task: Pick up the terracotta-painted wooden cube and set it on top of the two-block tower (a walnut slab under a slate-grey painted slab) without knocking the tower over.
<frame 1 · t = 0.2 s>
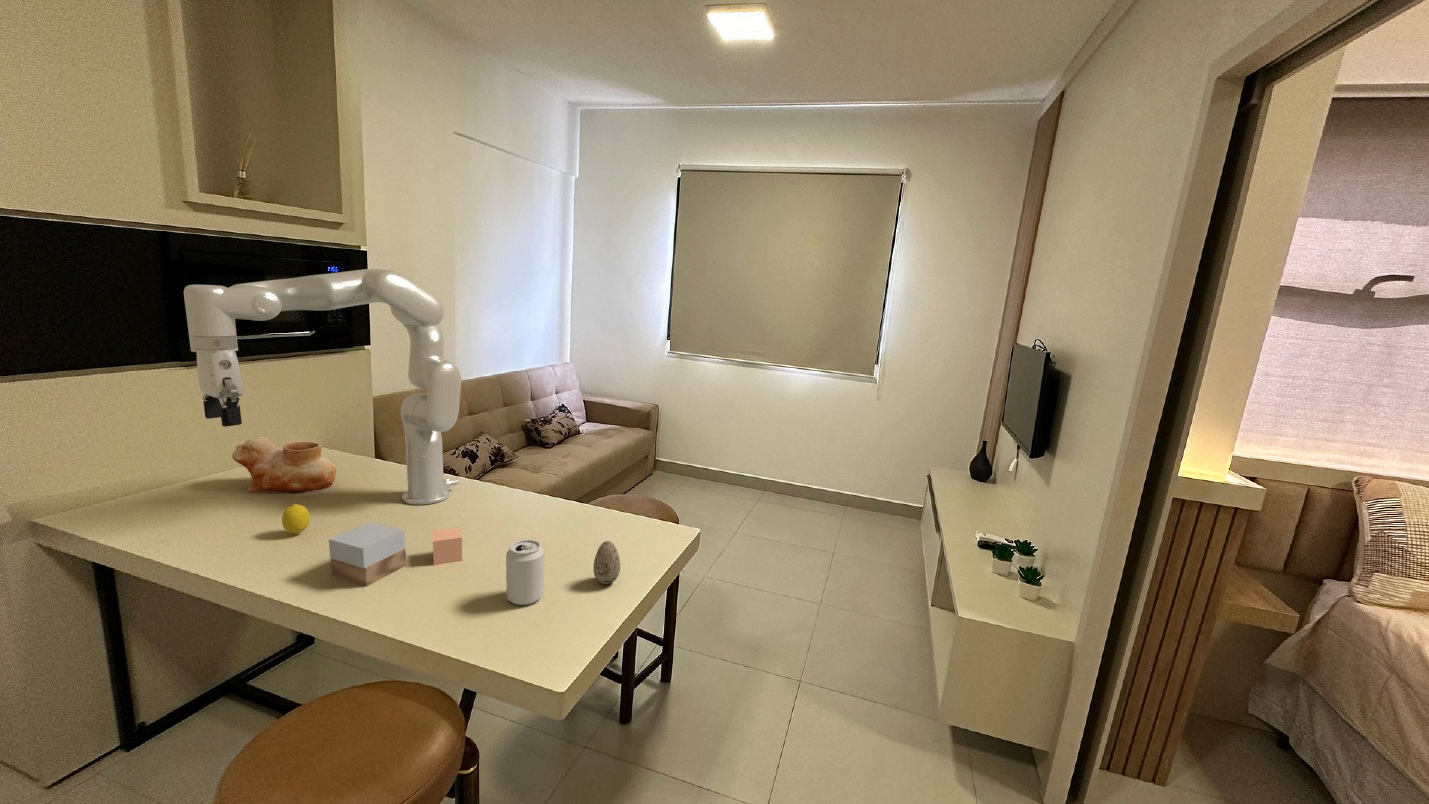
hand: (223, 421, 120), 31 cm above the table, fingers open, 9 cm apart
decorative egg: (606, 583, 124), on the table
block: (447, 557, 130), on the table
can: (525, 598, 116), on the table
lemon: (297, 535, 136), on the table
tower top: (368, 553, 121), point 4 cm above the table
ceramic vessel: (287, 486, 166), on the table
tower base: (370, 572, 122), on the table
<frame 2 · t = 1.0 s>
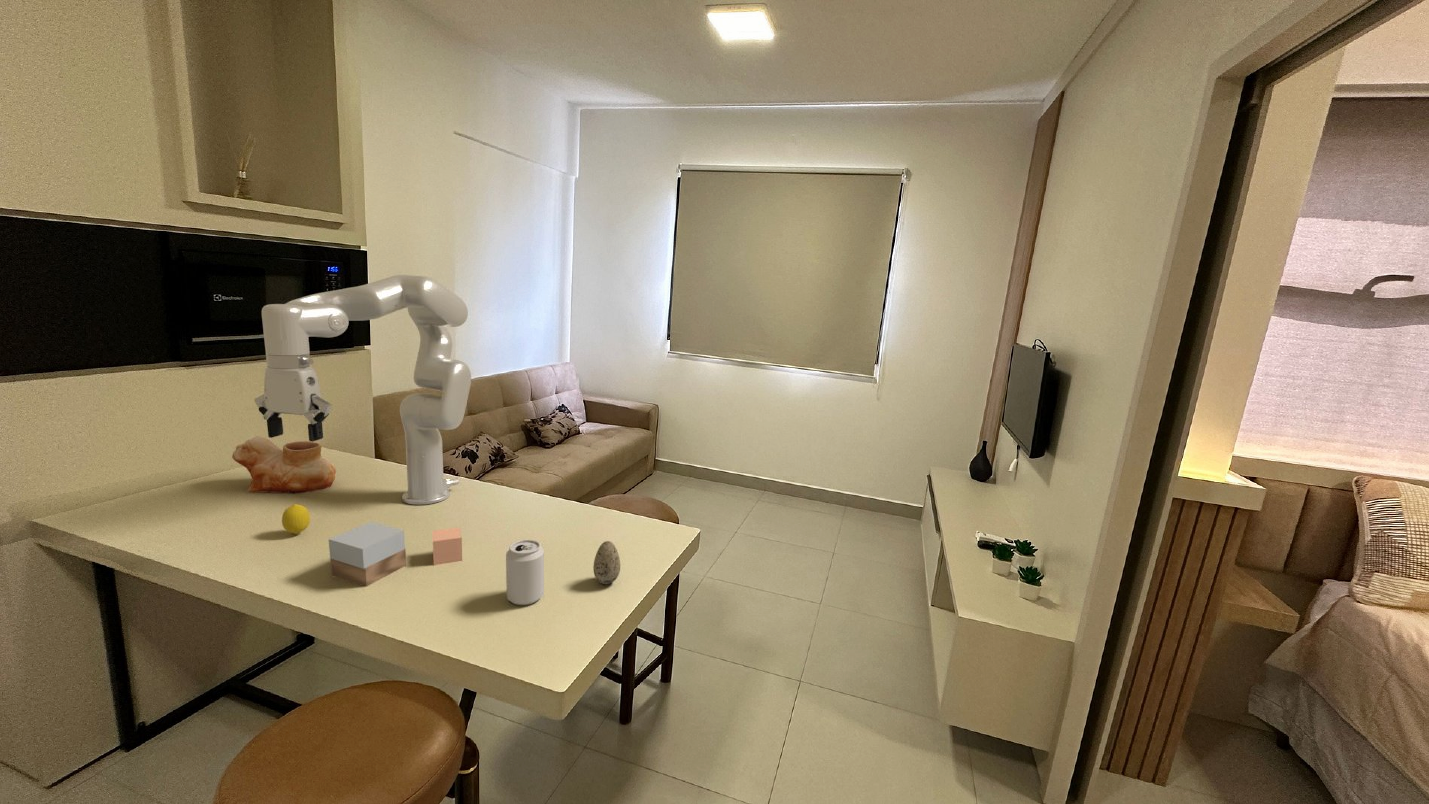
hand: (296, 438, 122), 28 cm above the table, fingers open, 9 cm apart
tower top: (368, 553, 121), point 4 cm above the table, touching tower base
tower base: (370, 572, 122), on the table, touching tower top
everything else where it was.
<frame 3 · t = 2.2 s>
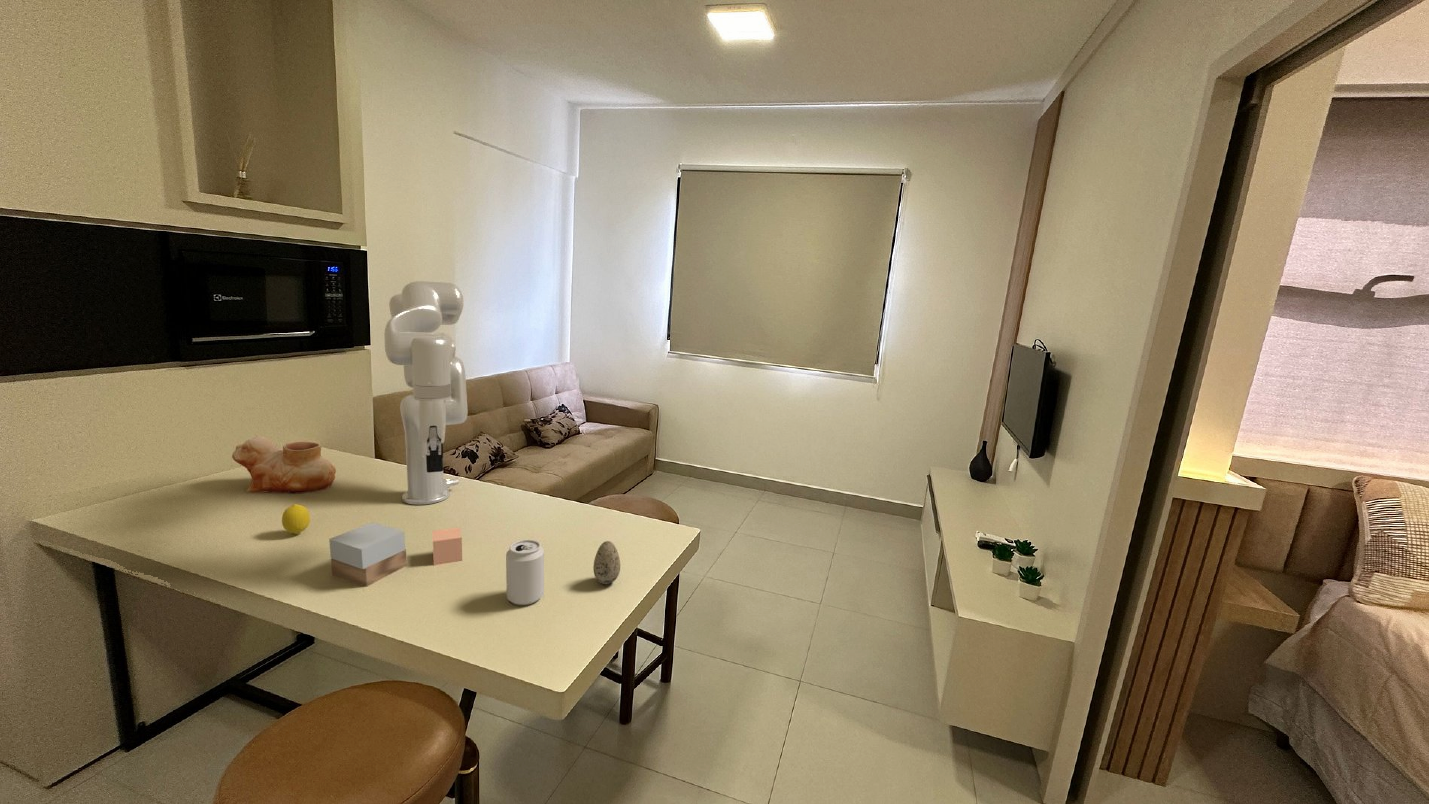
hand: (435, 465, 125), 23 cm above the table, fingers open, 9 cm apart
nothing on the table moved.
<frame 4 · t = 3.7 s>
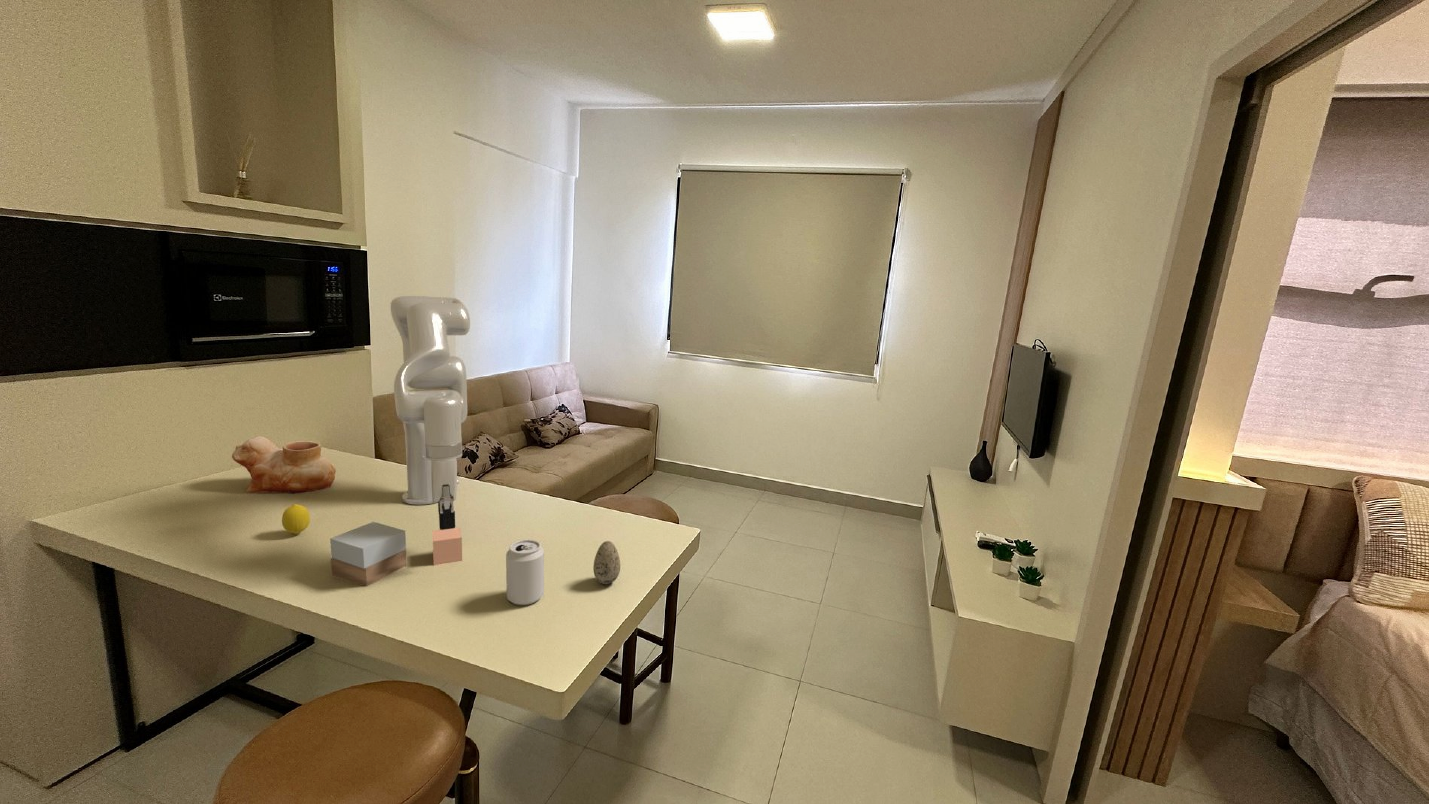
hand: (446, 520, 128), 9 cm above the table, fingers open, 9 cm apart
nothing on the table moved.
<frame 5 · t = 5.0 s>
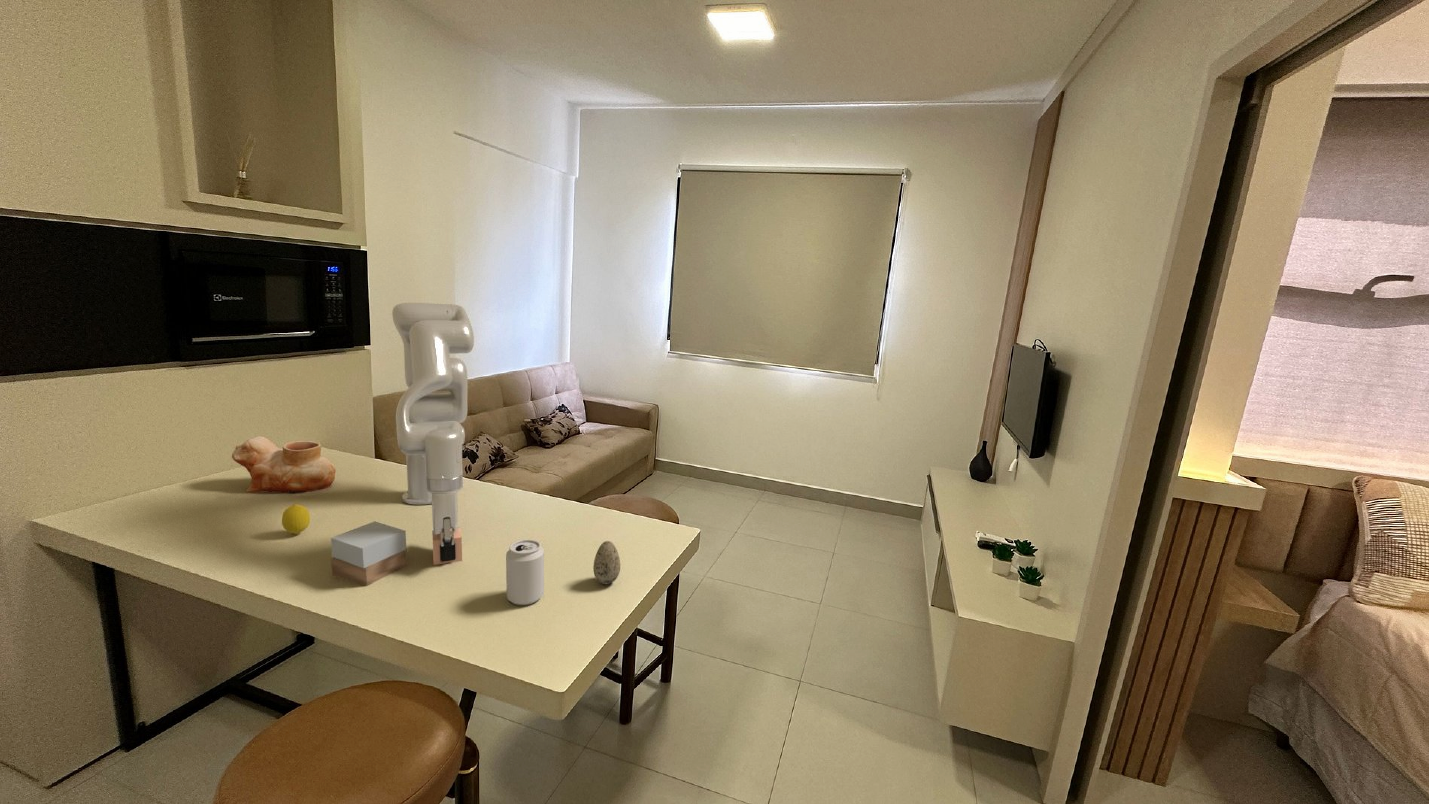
hand: (447, 553, 130), 1 cm above the table, fingers closed on block, 6 cm apart
block: (447, 557, 130), on the table, touching gripper
everything else where it was.
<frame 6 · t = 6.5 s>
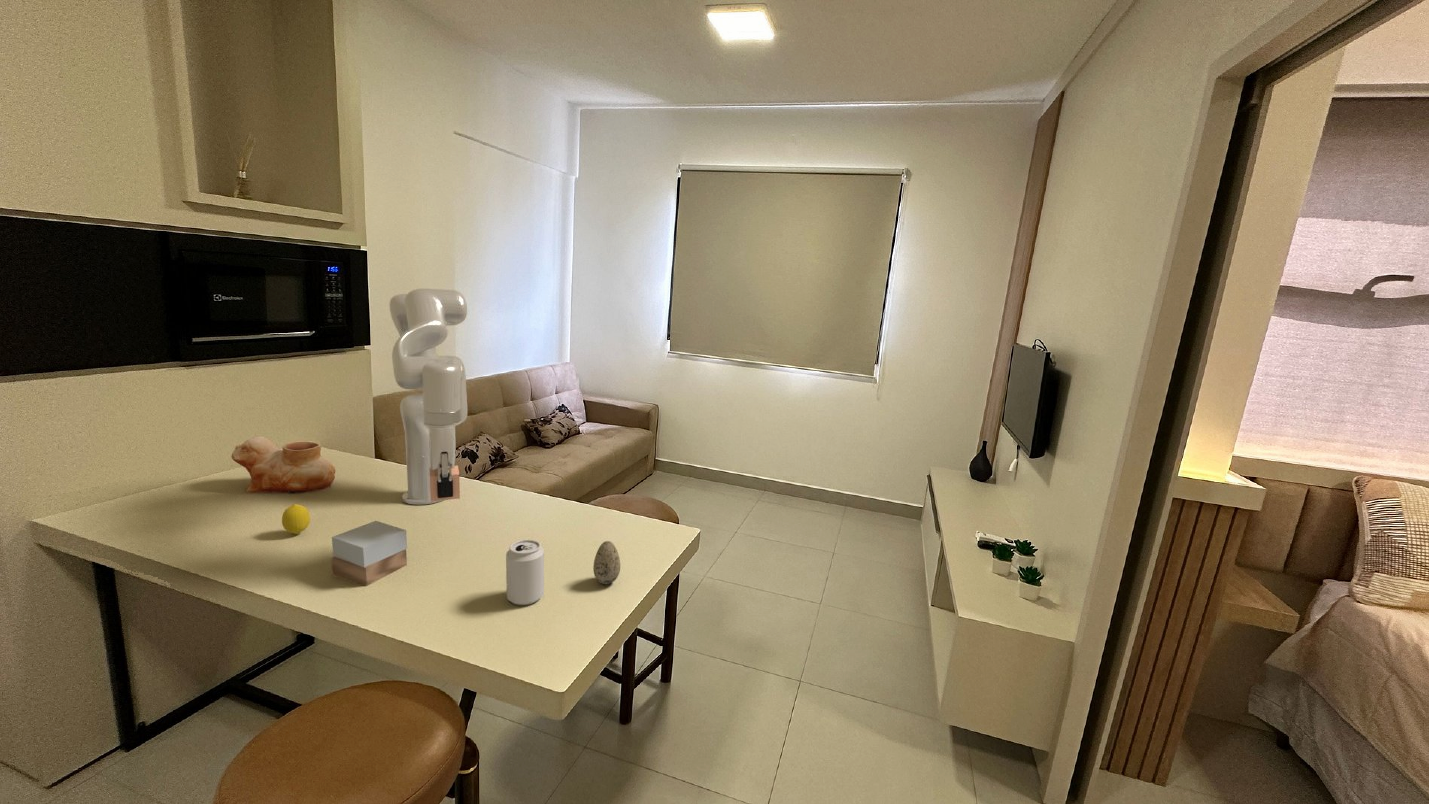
hand: (444, 490, 127), 16 cm above the table, fingers closed on block, 6 cm apart
block: (444, 494, 128), point 15 cm above the table, touching gripper
everything else where it was.
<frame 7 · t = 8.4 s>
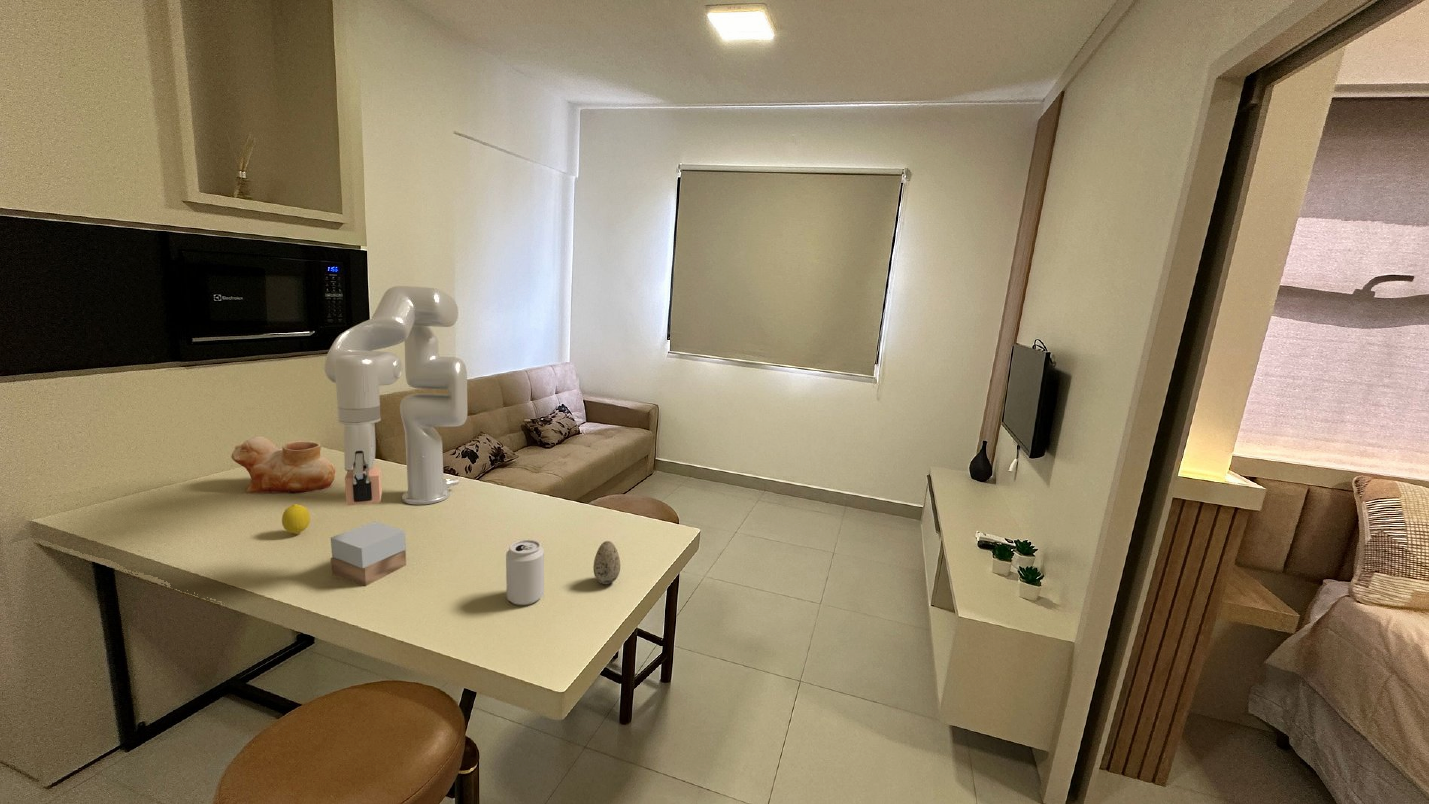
hand: (364, 494, 118), 18 cm above the table, fingers closed on block, 6 cm apart
block: (364, 499, 118), point 17 cm above the table, touching gripper
tower top: (369, 552, 121), point 4 cm above the table
tower base: (370, 571, 122), on the table
everything else where it was.
when the fingers open (11 cm above the table, at t = 10.1 s): block drops 1 cm, resting on tower top.
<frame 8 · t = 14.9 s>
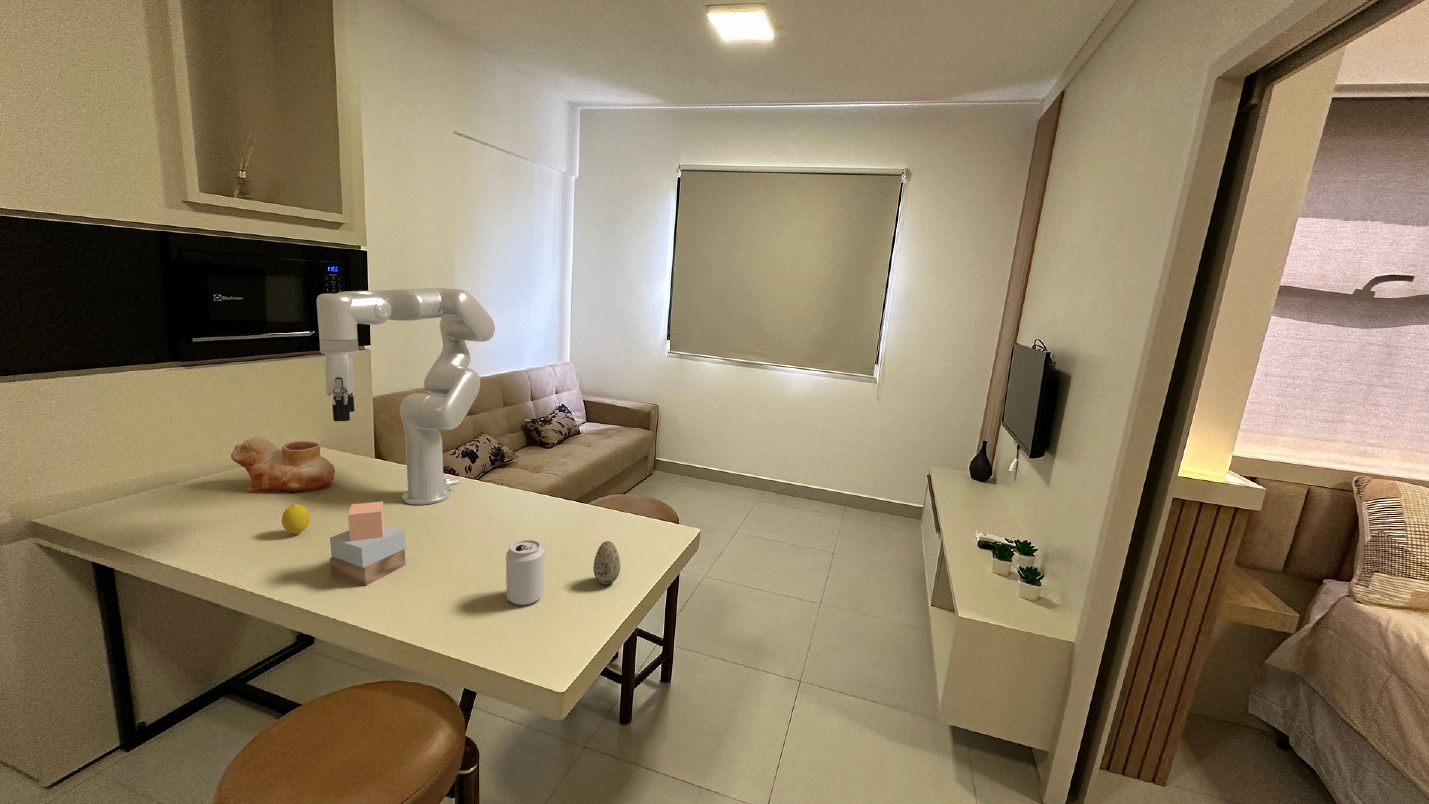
hand: (344, 416, 134), 30 cm above the table, fingers open, 9 cm apart
block: (367, 533, 121), point 9 cm above the table, touching tower top
tower top: (369, 552, 122), point 4 cm above the table, touching block, tower base
tower base: (369, 571, 122), on the table, touching tower top
everything else where it was.
at the end: block inside the target area on the tower top (0.3 cm from its centre), point 4.5 cm above the tower top's base; block tilted 0°; tower top moved 0.6 cm from its start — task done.
